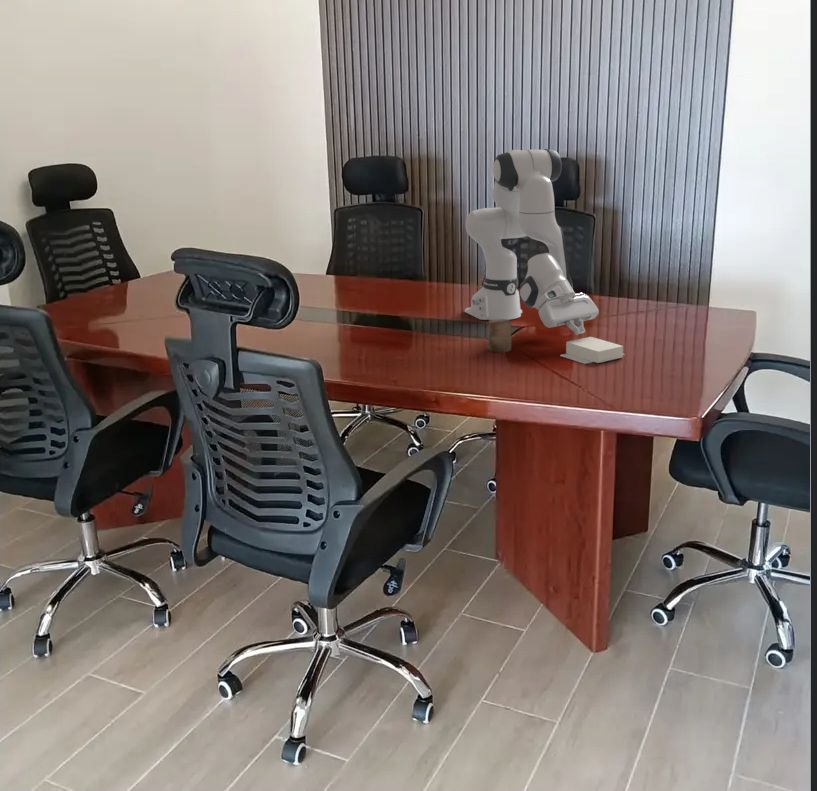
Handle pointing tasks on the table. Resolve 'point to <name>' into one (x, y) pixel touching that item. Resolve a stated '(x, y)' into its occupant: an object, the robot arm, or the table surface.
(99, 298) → the table surface
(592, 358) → the card box
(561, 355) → the felt mat
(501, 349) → the tan cardboard tube
